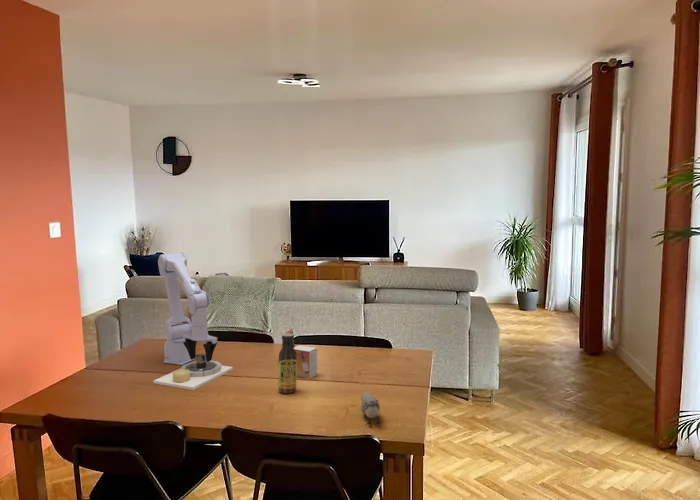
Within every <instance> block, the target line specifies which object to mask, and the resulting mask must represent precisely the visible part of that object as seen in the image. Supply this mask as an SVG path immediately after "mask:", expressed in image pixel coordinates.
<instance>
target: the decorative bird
mask: <svg viewBox="0 0 700 500" xmlns="http://www.w3.org/2000/svg"><path fill="white" fill-rule="evenodd" d="M380 408H381V407H380V403H379V400H378V399H377V398H376V396H373V393H372V392H370V391H365V392H363V393H362V395H361V407H360V409H361V413H363V414H364V415H366V417H367V421H368V422H367V423H366V424H365V426H367V425H368V426H370V425H371V426H373V425H372V423H371V420H370V419H374V418H376V419H377V422H375V424H374V426H376V425H377V426H379V425H382V423H381V421H380V418H379V412H380Z"/></svg>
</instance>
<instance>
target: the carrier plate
mask: <svg viewBox="0 0 700 500" xmlns="http://www.w3.org/2000/svg"><path fill="white" fill-rule="evenodd" d="M208 363H211V365H215V368H213V369H211V370H207V371H198V372H193V371H190V370H188V368H191V366H192V365H197V363H196V360H195V361H190V362H187V363H185V364H183V365H181V367H180V368H179V369H175V370H173V371H172V372H170V373H167V374H164V375H162V376H161V377H159V378H156V379H154V380H153V381H152V382H153V384H156V385H161V386H167V387H173V388H179V389H185V390H190V391H191V390H192V391H195V390H197V389H198V388H201V387H202V386H204V385H206V384H208V383H210V382H212V381H215V380H217V379H218V378H220V377H222V376H223V375H225V374H227V373H229V372H231V371H233V370H234V366H227V365H222V363H221V362H219V361H217V360H211V361H209V362H207V361H206V364H208Z"/></svg>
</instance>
